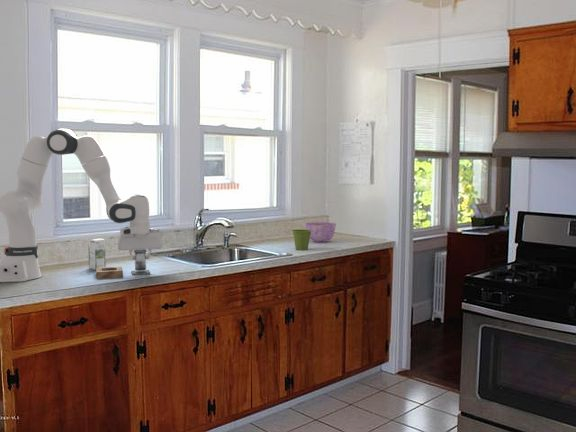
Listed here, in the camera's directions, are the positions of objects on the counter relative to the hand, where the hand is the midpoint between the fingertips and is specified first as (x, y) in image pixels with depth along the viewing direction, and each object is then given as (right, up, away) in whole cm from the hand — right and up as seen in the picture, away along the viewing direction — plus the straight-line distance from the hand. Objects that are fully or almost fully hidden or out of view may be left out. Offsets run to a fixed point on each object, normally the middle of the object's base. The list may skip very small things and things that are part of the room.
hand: (140, 259), depth 271 cm
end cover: (0, -5, 0) cm, 5 cm away
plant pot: (+77, 0, +74) cm, 107 cm away
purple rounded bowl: (+90, +3, +108) cm, 140 cm away
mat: (0, -7, +1) cm, 7 cm away
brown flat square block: (-13, -7, -6) cm, 16 cm away
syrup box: (-24, -6, +12) cm, 27 cm away
